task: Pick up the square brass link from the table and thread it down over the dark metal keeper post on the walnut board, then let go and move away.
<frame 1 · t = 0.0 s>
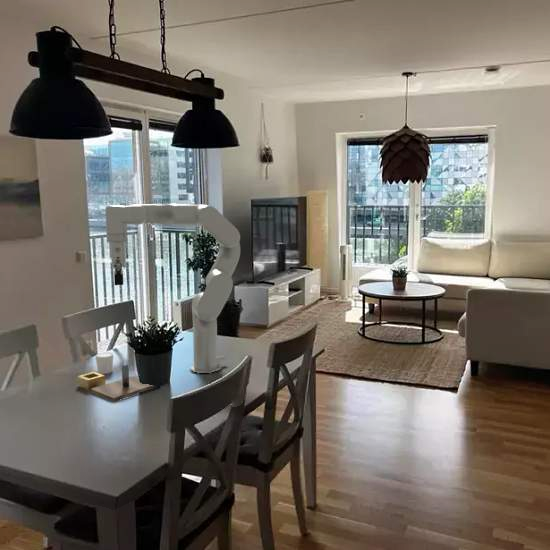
hand: (118, 282, 217), 37 cm above the table, tool pointing down, fingers open, 9 cm apart
keeper board: (126, 389, 208), on the table
brass link: (91, 386, 211), on the table
keeper post: (125, 385, 208), resting on keeper board
white tapered cup: (105, 372, 228), on the table
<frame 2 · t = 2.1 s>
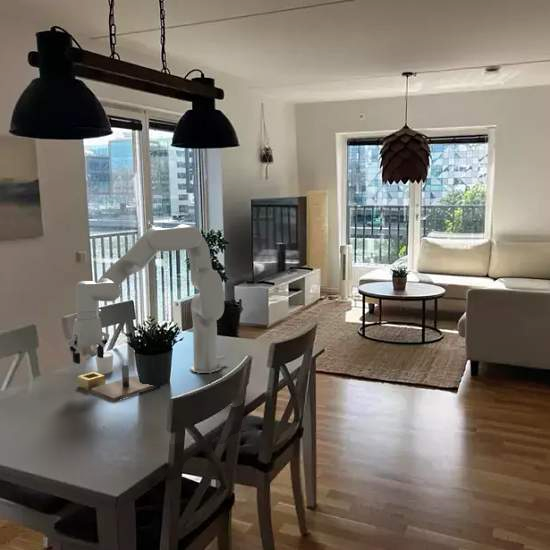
hand: (88, 360, 210), 10 cm above the table, tool pointing down, fingers open, 9 cm apart
nothing on the table moved.
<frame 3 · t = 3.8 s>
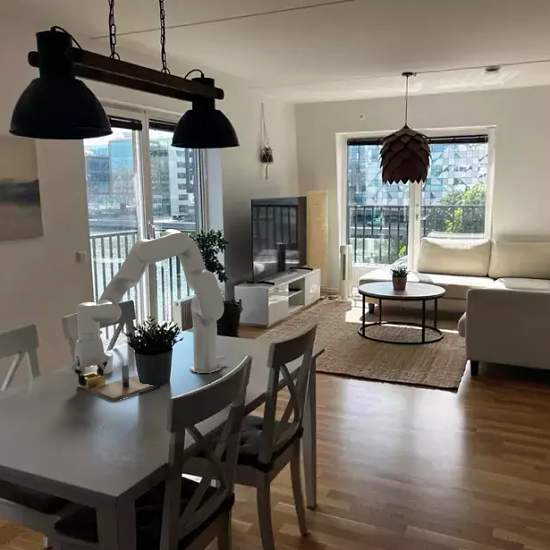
hand: (91, 382, 211), 2 cm above the table, tool pointing down, fingers closed on brass link, 7 cm apart
brass link: (91, 386, 211), on the table, touching gripper
everything else where it was.
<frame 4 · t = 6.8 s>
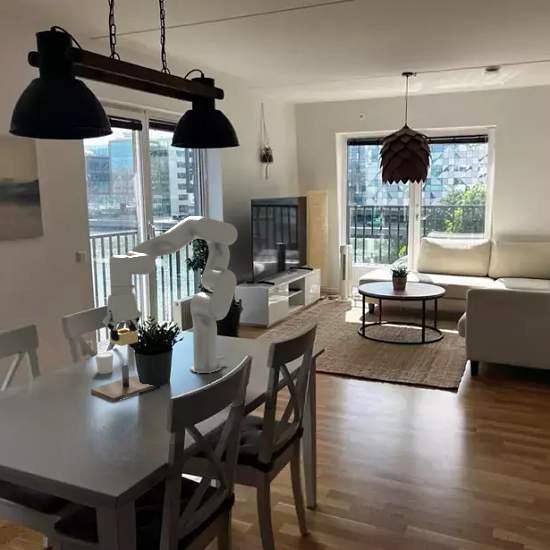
hand: (123, 337, 205), 20 cm above the table, tool pointing down, fingers closed on brass link, 7 cm apart
brass link: (124, 342, 205), point 18 cm above the table, touching gripper
everything else where it was.
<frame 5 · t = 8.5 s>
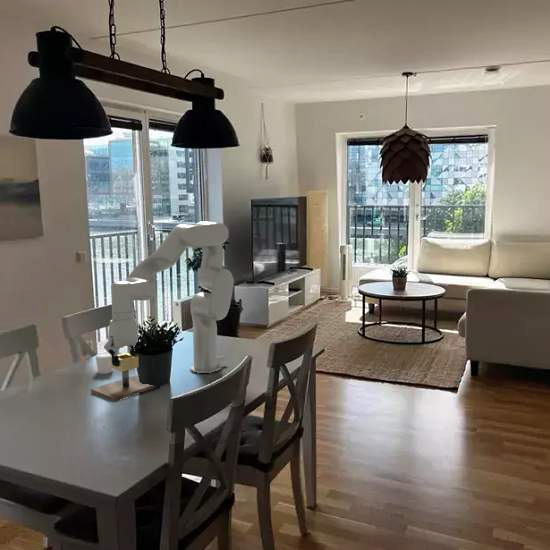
hand: (124, 363, 206), 10 cm above the table, tool pointing down, fingers closed on brass link, 7 cm apart
brass link: (124, 367, 206), point 9 cm above the table, touching gripper
everything else where it was.
when the fingers open (9 cm above the table, at t = 9.7 s): brass link drops 6 cm, resting on keeper board.
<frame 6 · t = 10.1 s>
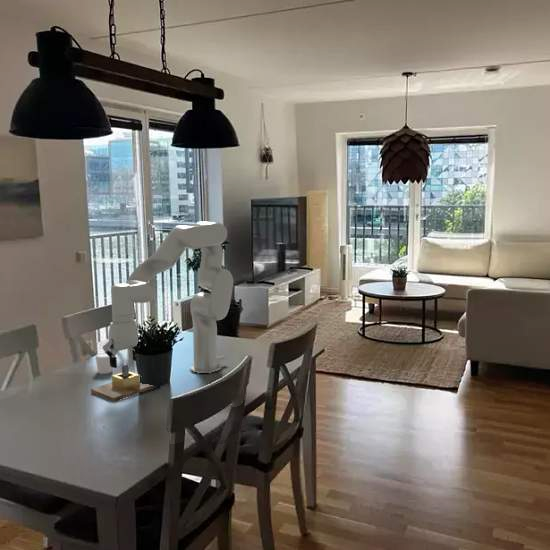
hand: (125, 363, 206), 10 cm above the table, tool pointing down, fingers open, 9 cm apart
brass link: (126, 385, 208), point 1 cm above the table, touching keeper board
everything else where it was.
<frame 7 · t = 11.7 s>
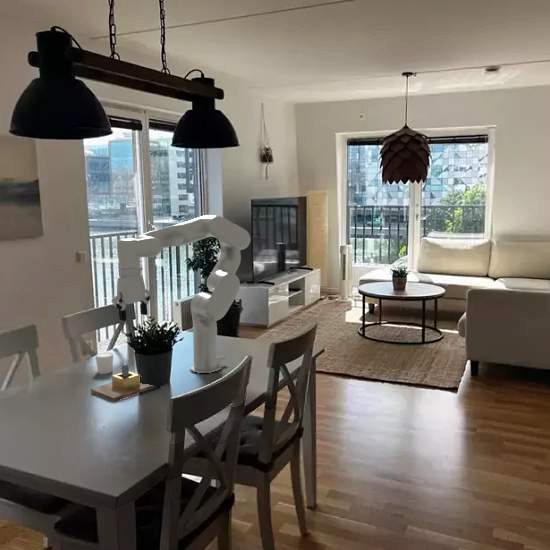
hand: (133, 317, 211), 25 cm above the table, tool pointing down, fingers open, 9 cm apart
nothing on the table moved.
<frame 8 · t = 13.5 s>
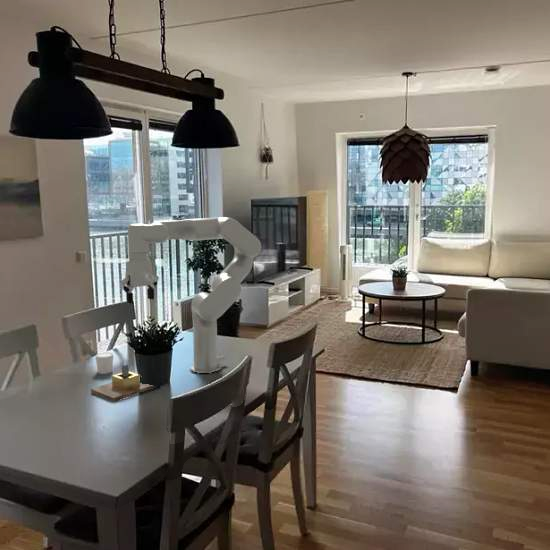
hand: (140, 300, 217), 30 cm above the table, tool pointing down, fingers open, 9 cm apart
nothing on the table moved.
at the end: brass link 0.1 cm off-centre on the keeper board, point 1.5 cm above the keeper board's base; brass link tilted 0°; the gripper is holding nothing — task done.
